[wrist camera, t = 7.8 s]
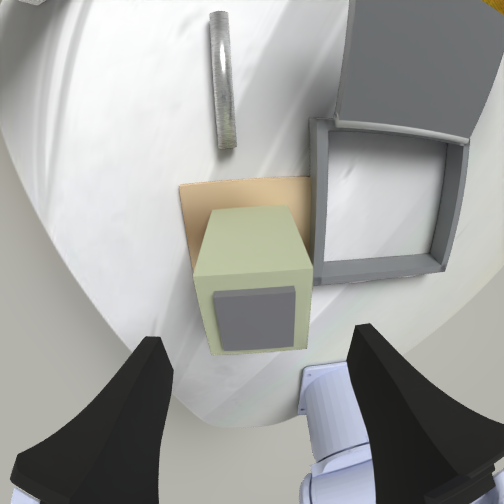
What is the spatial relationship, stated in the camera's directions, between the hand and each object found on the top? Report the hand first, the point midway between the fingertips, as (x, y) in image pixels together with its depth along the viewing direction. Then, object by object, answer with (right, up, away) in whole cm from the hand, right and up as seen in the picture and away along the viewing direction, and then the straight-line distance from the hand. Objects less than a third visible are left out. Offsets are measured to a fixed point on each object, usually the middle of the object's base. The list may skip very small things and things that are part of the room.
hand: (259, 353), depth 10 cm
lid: (+8, +15, +2) cm, 17 cm away
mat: (0, +4, +8) cm, 9 cm away
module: (0, +4, +7) cm, 9 cm away
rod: (-2, +13, +3) cm, 14 cm away
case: (+9, +7, +7) cm, 13 cm away
